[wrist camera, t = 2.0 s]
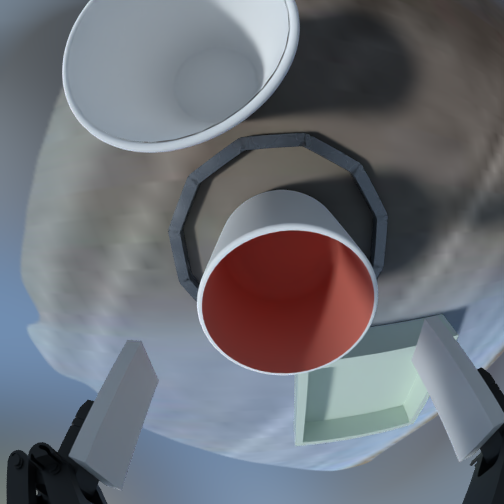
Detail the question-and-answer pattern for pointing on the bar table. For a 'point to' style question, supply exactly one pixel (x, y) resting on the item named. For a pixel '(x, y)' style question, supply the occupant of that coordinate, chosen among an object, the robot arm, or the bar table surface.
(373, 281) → the cup
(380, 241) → the socket ring
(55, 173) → the bar table surface
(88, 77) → the coffee cup
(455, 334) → the bin
